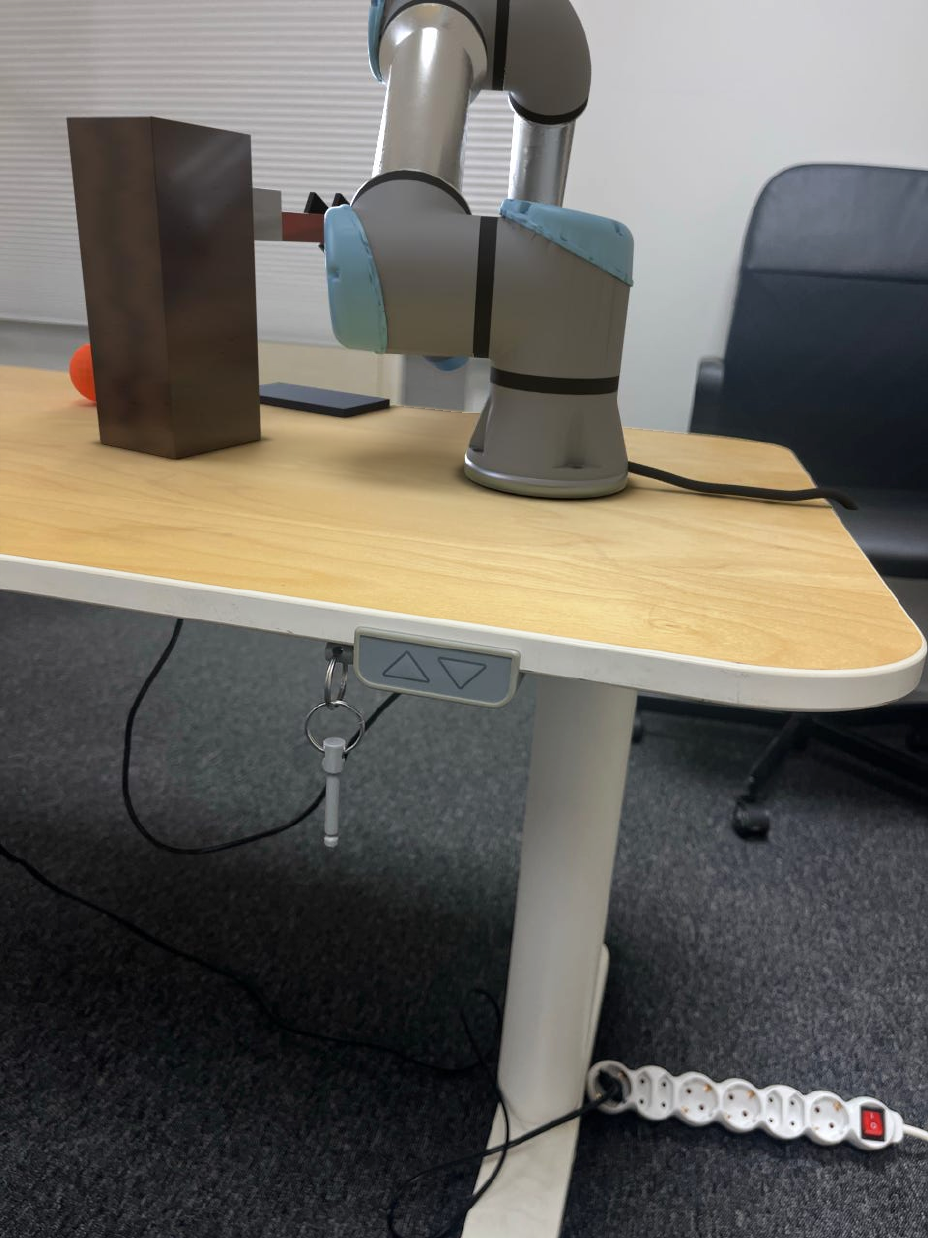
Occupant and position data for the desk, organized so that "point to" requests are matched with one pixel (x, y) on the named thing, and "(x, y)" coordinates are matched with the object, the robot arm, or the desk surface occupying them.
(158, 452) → the tall post
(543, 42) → the robot arm
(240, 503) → the desk surface
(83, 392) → the clementine
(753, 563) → the desk surface
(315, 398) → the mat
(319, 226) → the hammer
